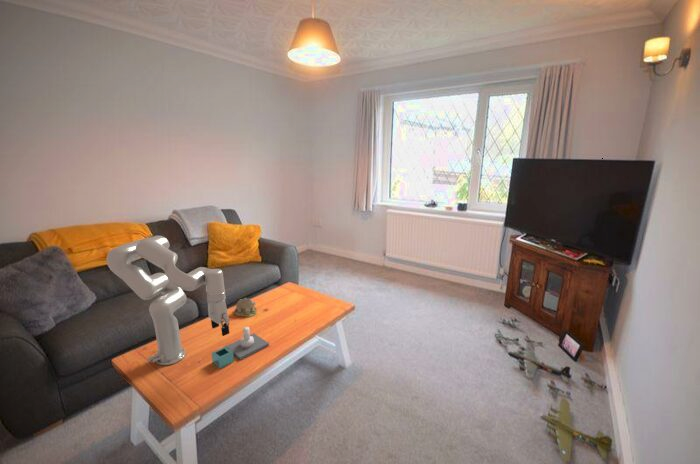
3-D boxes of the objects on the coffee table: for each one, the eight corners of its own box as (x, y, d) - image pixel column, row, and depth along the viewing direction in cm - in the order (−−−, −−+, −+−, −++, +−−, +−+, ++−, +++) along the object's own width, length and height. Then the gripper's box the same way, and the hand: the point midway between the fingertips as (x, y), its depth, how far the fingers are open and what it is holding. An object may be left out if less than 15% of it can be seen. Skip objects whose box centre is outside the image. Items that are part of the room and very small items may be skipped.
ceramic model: (259, 308, 201) (258, 294, 199) (254, 317, 190) (253, 302, 188) (237, 308, 201) (236, 294, 199) (231, 317, 190) (230, 302, 188)
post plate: (240, 360, 150) (238, 340, 147) (225, 348, 159) (224, 330, 156) (268, 345, 162) (267, 327, 159) (254, 335, 171) (252, 318, 168)
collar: (219, 368, 144) (218, 359, 143) (212, 362, 148) (211, 352, 147) (233, 361, 149) (232, 352, 148) (226, 355, 154) (225, 346, 152)
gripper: (199, 293, 144) (204, 327, 148) (217, 305, 133) (221, 341, 137) (215, 288, 149) (219, 321, 153) (233, 299, 138) (237, 334, 142)
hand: (220, 330), depth 145 cm, fingers open, 9 cm apart
